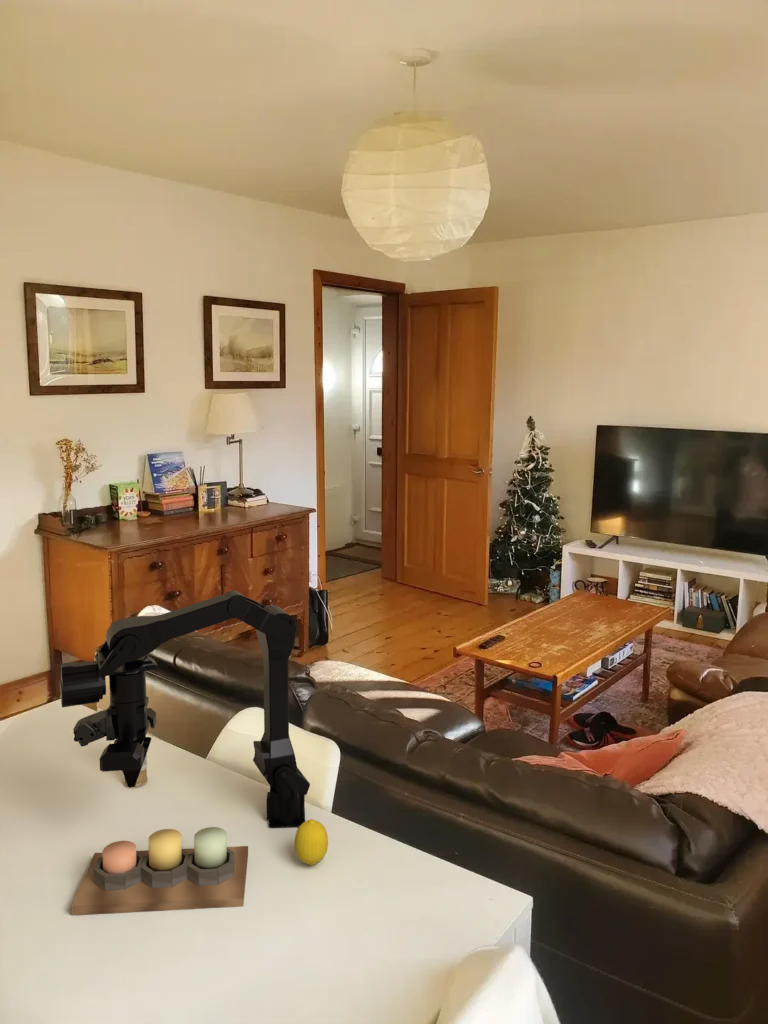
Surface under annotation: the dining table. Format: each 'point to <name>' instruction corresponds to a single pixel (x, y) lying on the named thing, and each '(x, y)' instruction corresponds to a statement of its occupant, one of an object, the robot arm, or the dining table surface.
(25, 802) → the dining table surface
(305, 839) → the lemon
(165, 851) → the button ochre
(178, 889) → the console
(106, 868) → the button terracotta
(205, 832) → the button sage
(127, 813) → the dining table surface
